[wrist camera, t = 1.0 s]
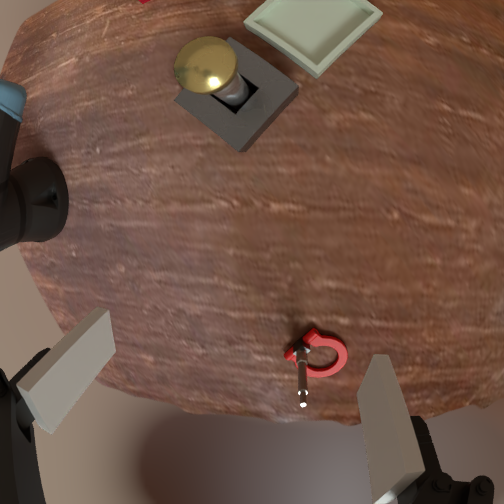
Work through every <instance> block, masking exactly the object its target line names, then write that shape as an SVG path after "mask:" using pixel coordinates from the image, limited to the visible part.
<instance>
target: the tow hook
mask: <svg viewBox="0 0 504 504" xmlns="http://www.w3.org/2000/svg"><path fill="white" fill-rule="evenodd" d="M310 344H311V345H312V346H314V347H317V346H330V347H332V348H334V349H335V350H336V351H337V353H338V357H337V360H336V361H335V362H334V363H333V364H332V365H331V366H329V367H326V368H321V369H317V368H312V367H310V366H308V365H307V364H308V359H307V353H308V352H309V351H310ZM284 357H285V359H287V360H293V361H294V362H295V365H296V367H297V369H298V394H299V395H300V406H306V394H307V393H308V388H307V376H311V377H326V376H329V375H332V374H334V373H336V372H338V371H339V370H340V369H341V368H343V366H344V365H345V363H346V361H347V358H348V352H347V349H346V346H345V344H344V343H343V342H342V341H341V340H339V339H338V338H335V337H332V336H325V335H321V334H319V332H318V330H317V329H315V328H312V329H311V330H310V331H309V332H308V333H307V334H306V335H305V336H304V337H302V338H300V339H299V340H298V341H297V342H296V343H295V344H294V345H293V347H291V348H290V349H289V350H288V351H287V352H286V353H285V354H284Z"/></svg>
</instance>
